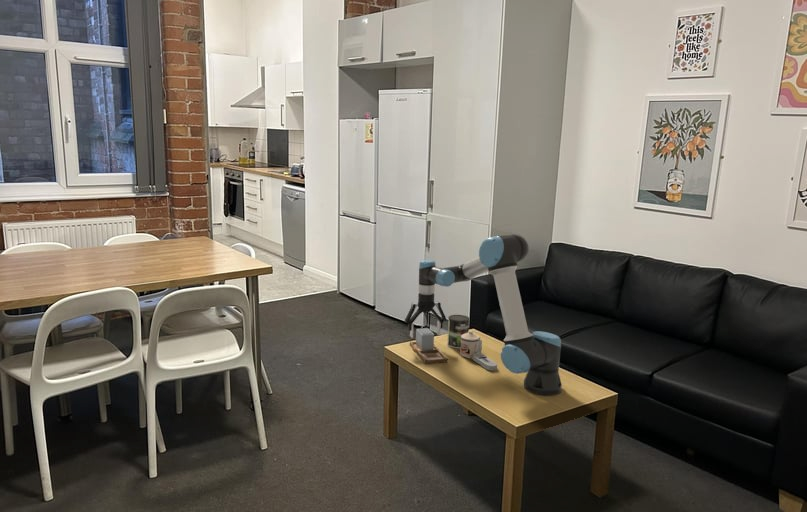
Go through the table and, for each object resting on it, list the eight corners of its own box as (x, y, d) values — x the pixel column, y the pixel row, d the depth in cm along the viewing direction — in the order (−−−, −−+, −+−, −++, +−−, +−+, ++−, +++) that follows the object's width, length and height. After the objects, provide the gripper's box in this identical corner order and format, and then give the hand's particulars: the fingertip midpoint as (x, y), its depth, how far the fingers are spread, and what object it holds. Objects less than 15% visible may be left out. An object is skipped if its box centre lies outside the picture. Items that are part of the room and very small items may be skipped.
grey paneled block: (433, 350, 267) (434, 333, 266) (421, 351, 265) (421, 334, 264) (427, 343, 276) (428, 327, 274) (415, 344, 274) (416, 328, 272)
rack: (447, 362, 255) (447, 358, 255) (425, 364, 252) (425, 360, 252) (430, 343, 278) (430, 340, 278) (409, 345, 275) (409, 342, 275)
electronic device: (491, 351, 244) (471, 339, 257) (489, 372, 246) (470, 359, 259) (501, 349, 246) (481, 337, 259) (499, 370, 249) (479, 357, 262)
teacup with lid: (455, 353, 266) (456, 330, 264) (470, 350, 271) (471, 327, 269) (472, 362, 256) (474, 337, 254) (487, 358, 261) (488, 334, 259)
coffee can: (471, 347, 275) (473, 320, 272) (452, 349, 271) (453, 321, 268) (462, 340, 284) (464, 313, 281) (443, 342, 281) (445, 315, 278)
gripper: (448, 289, 272) (446, 331, 276) (398, 292, 265) (397, 335, 269) (454, 293, 265) (452, 336, 269) (403, 296, 258) (402, 340, 262)
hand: (425, 336), depth 269 cm, fingers open, 13 cm apart
